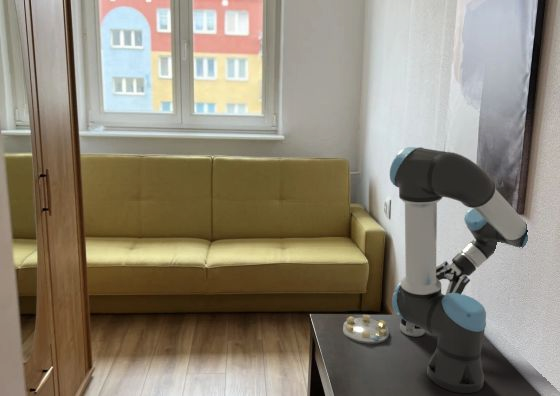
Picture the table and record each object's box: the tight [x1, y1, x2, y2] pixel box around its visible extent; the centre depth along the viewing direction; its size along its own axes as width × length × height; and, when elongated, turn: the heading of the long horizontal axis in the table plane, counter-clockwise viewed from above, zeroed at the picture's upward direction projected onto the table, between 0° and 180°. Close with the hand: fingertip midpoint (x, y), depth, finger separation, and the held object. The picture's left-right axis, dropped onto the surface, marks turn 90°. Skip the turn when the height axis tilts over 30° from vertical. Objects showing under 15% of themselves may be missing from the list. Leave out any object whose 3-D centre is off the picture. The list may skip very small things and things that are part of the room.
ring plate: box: [342, 314, 390, 345], centre depth 161 cm, size 15×15×3 cm
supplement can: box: [399, 318, 426, 338], centre depth 162 cm, size 8×8×15 cm
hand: (421, 303), depth 163 cm, fingers open, 13 cm apart
